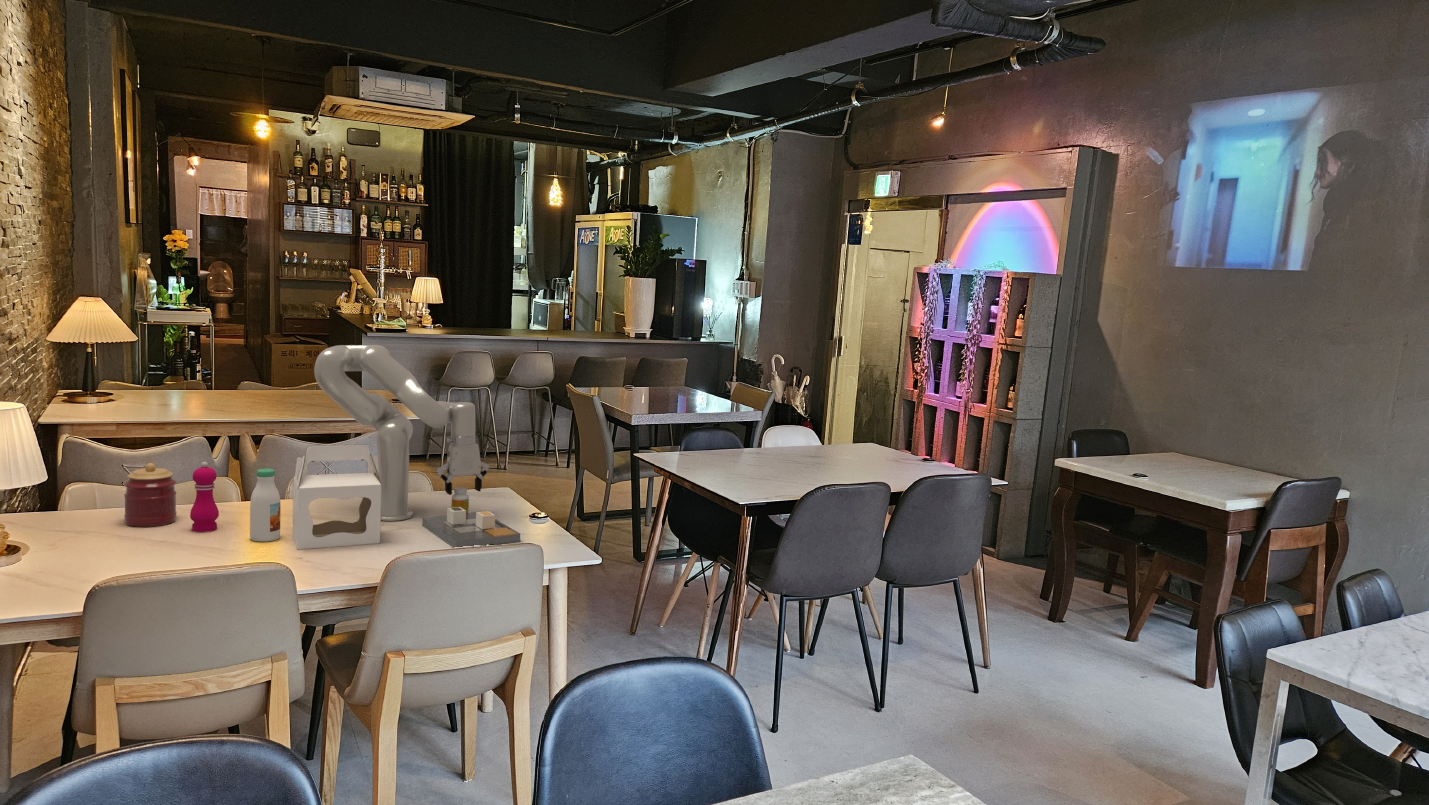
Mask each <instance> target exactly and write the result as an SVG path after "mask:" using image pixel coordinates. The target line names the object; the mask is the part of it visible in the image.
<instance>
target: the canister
mask: <svg viewBox="0 0 1429 805" xmlns="http://www.w3.org/2000/svg"><path fill="white" fill-rule="evenodd" d="M173 475H174V473H173V472H172V471H169V470H168V469H166V468H164V467H163V468H162V467H160V468H159V467H157V466H156V464H155V463H152V462H148V463H147V464H145V467H144V468H140V469H139V468H138V469H135V470H133V471H132V472H130V473H129V474H127V478H128V480H126V481H125V482H124V483H123V485H124V487H125V488H126V489H125V493H124V496H123V497H124V515H123V516H124V518H123V519H124V521H125V524H126V525H127V526H131V527H139V528H143V527H144V528H147V527H148V528H149V527H150V528H151V527H159V526H165V525H166V526H167V525H168V524H172V523H174V522H175V521H176V518H177V498H176V497H177V491H176V490H175V489H176V488H175V485H176V484H177V480H176V479H174V478H173Z"/></svg>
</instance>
